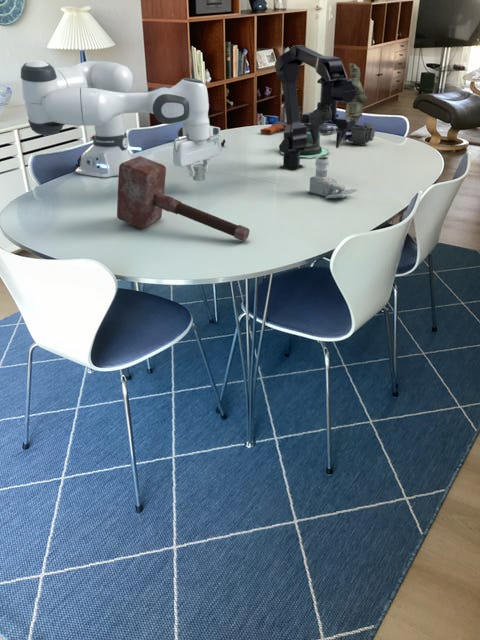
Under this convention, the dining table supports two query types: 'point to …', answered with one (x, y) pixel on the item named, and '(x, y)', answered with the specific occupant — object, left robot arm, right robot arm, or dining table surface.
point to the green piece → (312, 147)
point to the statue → (357, 104)
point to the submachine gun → (282, 125)
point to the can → (199, 172)
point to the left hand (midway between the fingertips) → (198, 174)
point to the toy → (360, 134)
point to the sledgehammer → (158, 199)
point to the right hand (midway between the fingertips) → (326, 146)
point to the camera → (326, 182)
